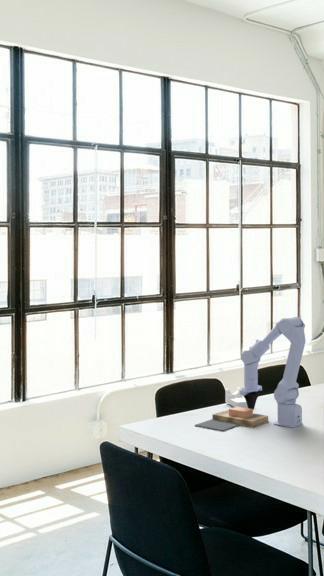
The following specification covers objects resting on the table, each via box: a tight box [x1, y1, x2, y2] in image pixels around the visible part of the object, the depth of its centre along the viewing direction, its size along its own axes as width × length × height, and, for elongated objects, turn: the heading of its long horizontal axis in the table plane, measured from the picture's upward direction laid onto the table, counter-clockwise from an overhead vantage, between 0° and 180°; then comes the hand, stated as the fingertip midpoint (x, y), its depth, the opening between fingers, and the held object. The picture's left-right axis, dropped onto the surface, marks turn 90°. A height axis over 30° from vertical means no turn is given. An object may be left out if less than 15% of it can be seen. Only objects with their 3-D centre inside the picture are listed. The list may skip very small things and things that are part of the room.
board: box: [211, 408, 269, 428], centre depth 284 cm, size 20×12×2 cm, turn 50°
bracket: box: [224, 386, 248, 408], centre depth 312 cm, size 13×7×8 cm, turn 19°
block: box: [228, 406, 254, 418], centre depth 284 cm, size 8×6×2 cm
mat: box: [194, 419, 241, 432], centre depth 277 cm, size 14×12×1 cm
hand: (251, 409), depth 290 cm, fingers closed
